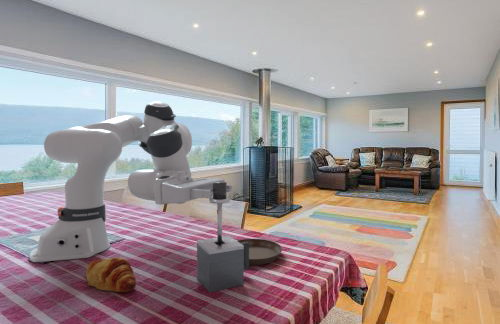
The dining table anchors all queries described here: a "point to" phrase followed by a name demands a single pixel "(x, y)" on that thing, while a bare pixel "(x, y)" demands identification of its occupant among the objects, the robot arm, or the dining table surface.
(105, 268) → the croissant
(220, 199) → the plunger
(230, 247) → the matte gray cube
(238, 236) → the dining table surface
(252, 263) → the plant saucer
